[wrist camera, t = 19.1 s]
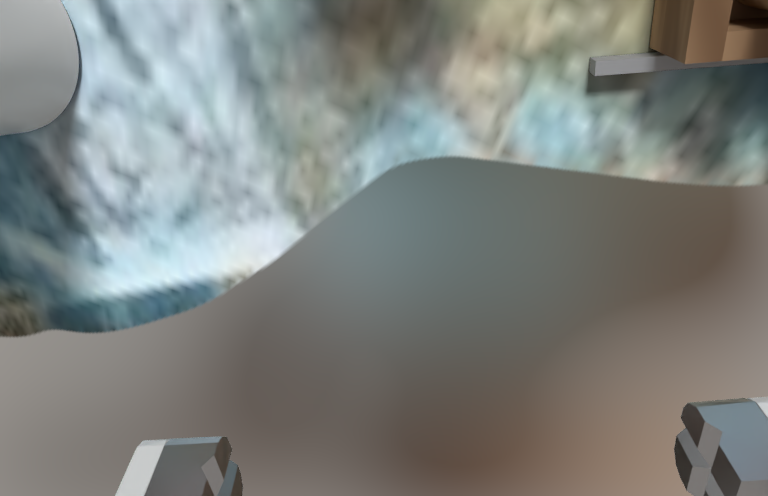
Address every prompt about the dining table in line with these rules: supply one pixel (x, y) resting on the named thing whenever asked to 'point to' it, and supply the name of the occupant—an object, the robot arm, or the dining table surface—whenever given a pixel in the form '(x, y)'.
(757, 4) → the dowel
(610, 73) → the backstop
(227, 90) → the dining table surface
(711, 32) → the socket block
